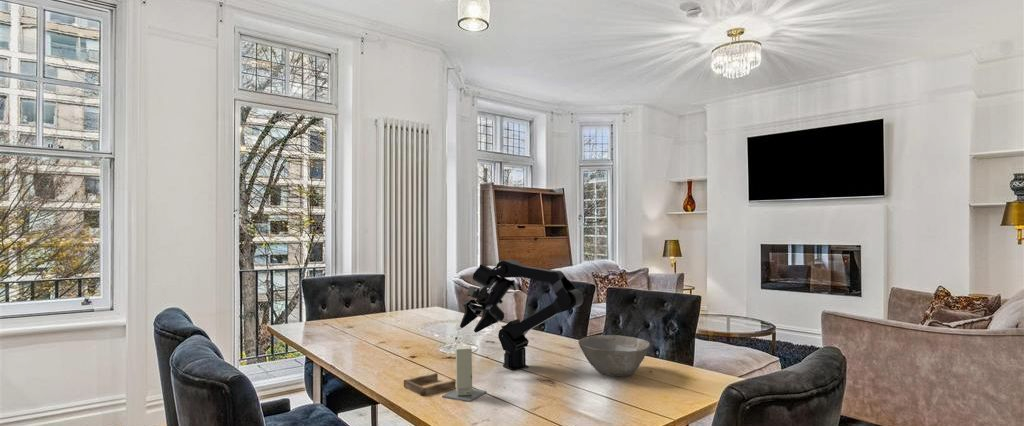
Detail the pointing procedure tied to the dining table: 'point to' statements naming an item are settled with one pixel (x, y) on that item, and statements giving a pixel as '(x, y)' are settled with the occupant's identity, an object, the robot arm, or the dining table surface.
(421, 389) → the cradle
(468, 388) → the box
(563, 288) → the robot arm
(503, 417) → the dining table surface
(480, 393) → the coaster
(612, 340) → the ceramic bowl
